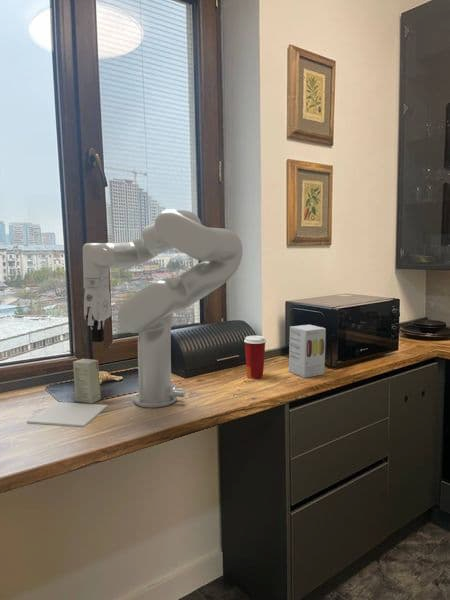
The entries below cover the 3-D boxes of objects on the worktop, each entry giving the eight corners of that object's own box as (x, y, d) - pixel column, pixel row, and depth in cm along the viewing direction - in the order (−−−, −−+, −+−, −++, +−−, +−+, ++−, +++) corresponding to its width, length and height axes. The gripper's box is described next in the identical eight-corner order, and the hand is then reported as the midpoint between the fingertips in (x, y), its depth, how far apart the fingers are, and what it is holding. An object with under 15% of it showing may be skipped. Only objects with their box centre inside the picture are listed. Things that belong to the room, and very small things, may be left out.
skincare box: (101, 399, 131) (99, 359, 129) (91, 404, 127) (89, 363, 125) (84, 396, 133) (83, 357, 132) (74, 401, 129) (72, 361, 128)
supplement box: (304, 378, 150) (305, 330, 148) (287, 371, 159) (288, 326, 156) (325, 374, 155) (326, 327, 153) (308, 368, 163) (309, 323, 161)
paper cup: (269, 375, 154) (270, 336, 152) (259, 381, 148) (259, 340, 146) (250, 372, 158) (250, 334, 156) (239, 377, 152) (239, 338, 150)
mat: (107, 406, 125) (107, 405, 125) (84, 426, 111) (84, 425, 111) (55, 403, 127) (55, 402, 127) (26, 422, 114) (26, 421, 114)
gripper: (96, 286, 127) (98, 347, 129) (117, 281, 141) (118, 336, 144) (72, 285, 128) (75, 346, 130) (95, 280, 142) (97, 335, 145)
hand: (97, 341), depth 137 cm, fingers closed
